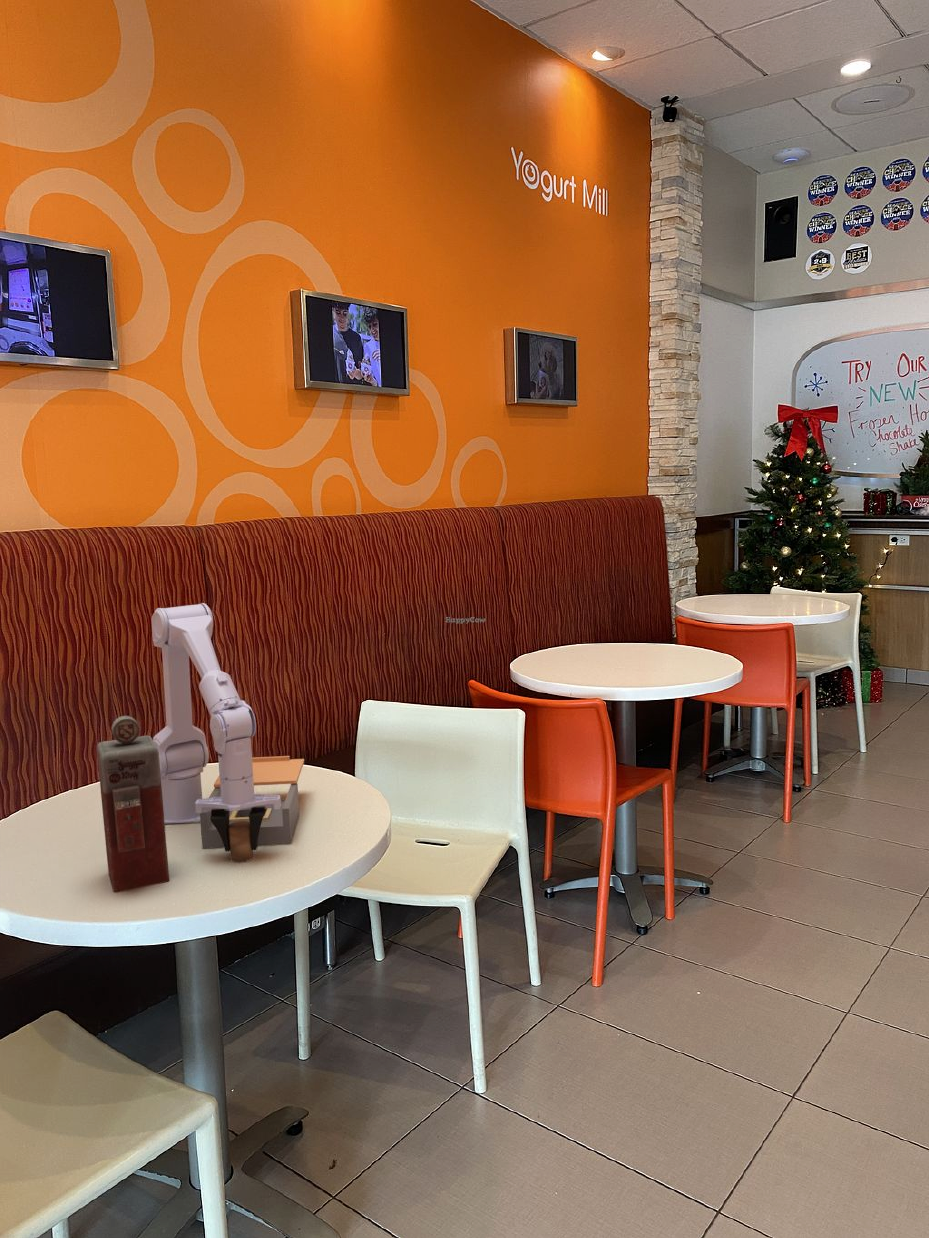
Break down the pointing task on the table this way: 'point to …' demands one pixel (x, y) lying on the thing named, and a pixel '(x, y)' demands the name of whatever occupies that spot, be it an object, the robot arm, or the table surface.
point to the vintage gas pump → (132, 808)
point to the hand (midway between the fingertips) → (241, 848)
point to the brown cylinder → (240, 841)
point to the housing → (273, 827)
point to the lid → (274, 770)
